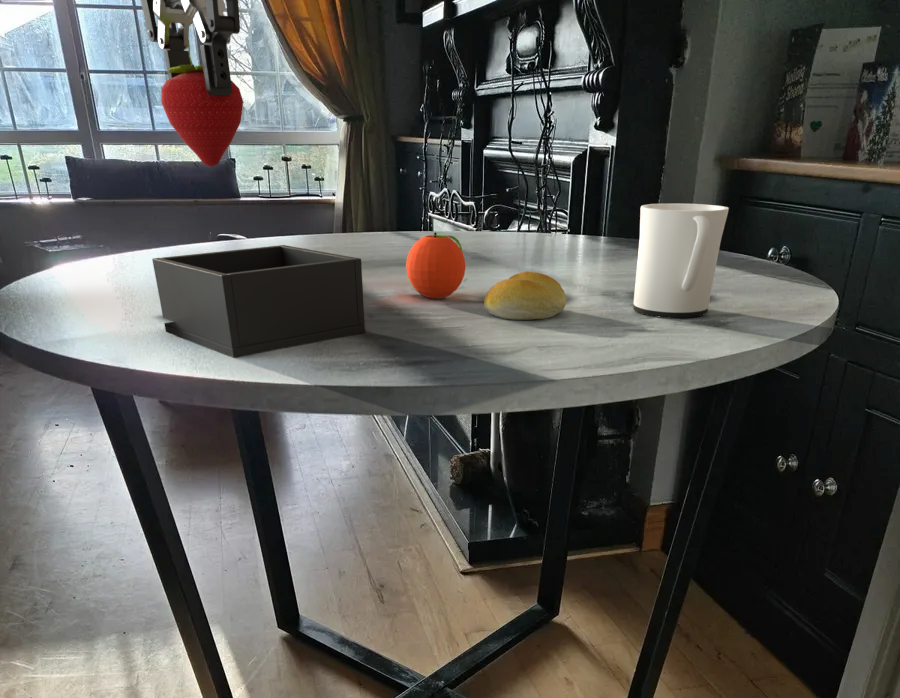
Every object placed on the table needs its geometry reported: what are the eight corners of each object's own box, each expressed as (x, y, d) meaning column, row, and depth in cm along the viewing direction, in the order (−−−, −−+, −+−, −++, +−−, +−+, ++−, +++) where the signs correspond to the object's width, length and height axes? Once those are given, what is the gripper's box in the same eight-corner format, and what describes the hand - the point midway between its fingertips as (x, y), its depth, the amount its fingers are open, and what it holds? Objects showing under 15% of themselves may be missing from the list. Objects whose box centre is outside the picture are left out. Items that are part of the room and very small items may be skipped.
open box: (233, 357, 69) (221, 275, 65) (165, 332, 77) (151, 258, 74) (365, 332, 77) (361, 258, 74) (290, 312, 86) (283, 244, 82)
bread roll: (473, 317, 83) (473, 277, 81) (508, 302, 90) (510, 265, 88) (544, 324, 80) (547, 283, 78) (575, 309, 87) (579, 271, 85)
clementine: (442, 289, 97) (441, 227, 94) (483, 296, 93) (484, 231, 90) (394, 298, 93) (392, 232, 89) (436, 306, 88) (435, 237, 85)
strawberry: (244, 167, 73) (227, 36, 68) (163, 168, 73) (141, 37, 68) (256, 165, 78) (242, 43, 73) (181, 165, 78) (161, 43, 73)
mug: (619, 303, 90) (630, 203, 84) (693, 302, 90) (709, 203, 85) (649, 324, 80) (663, 213, 75) (732, 322, 81) (752, 212, 76)
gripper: (85, -136, 66) (129, 98, 75) (162, -179, 57) (202, 93, 66) (168, -120, 70) (201, 99, 79) (252, -158, 61) (278, 95, 70)
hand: (201, 95), depth 72 cm, fingers closed on strawberry, 6 cm apart
